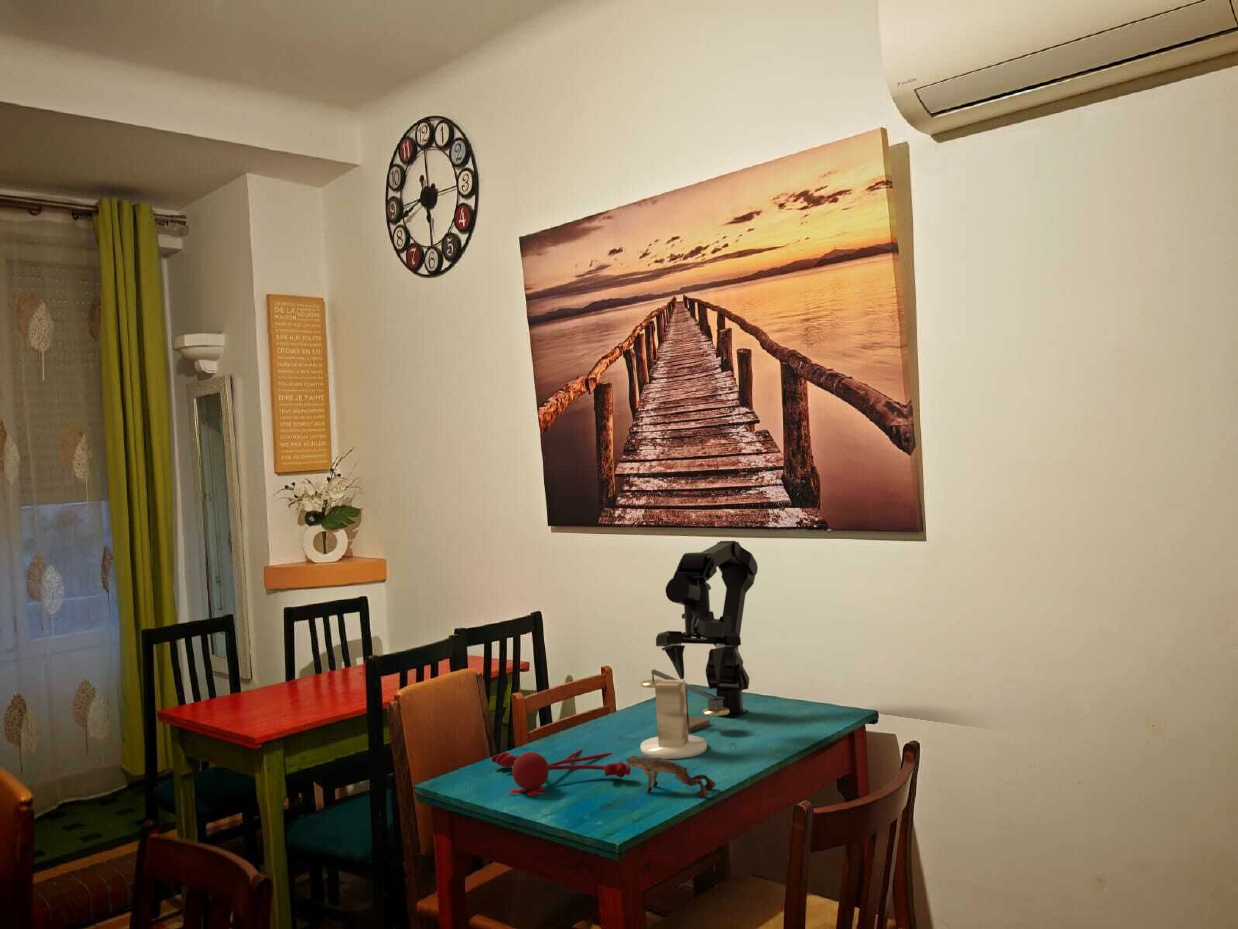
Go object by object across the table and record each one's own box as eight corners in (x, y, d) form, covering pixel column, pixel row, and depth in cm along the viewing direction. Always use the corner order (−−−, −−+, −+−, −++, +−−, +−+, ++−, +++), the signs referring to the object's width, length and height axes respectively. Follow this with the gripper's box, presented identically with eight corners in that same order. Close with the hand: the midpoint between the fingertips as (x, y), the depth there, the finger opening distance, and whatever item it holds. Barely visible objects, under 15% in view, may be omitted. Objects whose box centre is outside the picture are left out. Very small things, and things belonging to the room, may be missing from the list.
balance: (656, 716, 246) (652, 665, 246) (738, 728, 231) (734, 673, 231) (635, 724, 240) (632, 672, 240) (718, 737, 225) (714, 681, 225)
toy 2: (690, 818, 192) (627, 761, 197) (718, 782, 190) (653, 725, 195) (681, 829, 187) (616, 770, 192) (709, 792, 185) (642, 734, 189)
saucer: (667, 737, 227) (667, 731, 227) (719, 745, 218) (719, 739, 218) (627, 753, 217) (627, 747, 217) (680, 762, 208) (680, 756, 208)
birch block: (666, 739, 221) (662, 679, 221) (688, 740, 219) (684, 680, 219) (658, 746, 216) (654, 684, 216) (681, 747, 214) (677, 685, 214)
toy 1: (536, 764, 226) (454, 787, 200) (537, 729, 227) (455, 747, 201) (667, 778, 212) (597, 805, 185) (667, 741, 212) (598, 762, 186)
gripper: (676, 601, 218) (680, 676, 214) (751, 604, 226) (756, 676, 222) (653, 609, 228) (656, 680, 224) (726, 611, 236) (730, 680, 231)
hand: (700, 679), depth 225 cm, fingers open, 9 cm apart
